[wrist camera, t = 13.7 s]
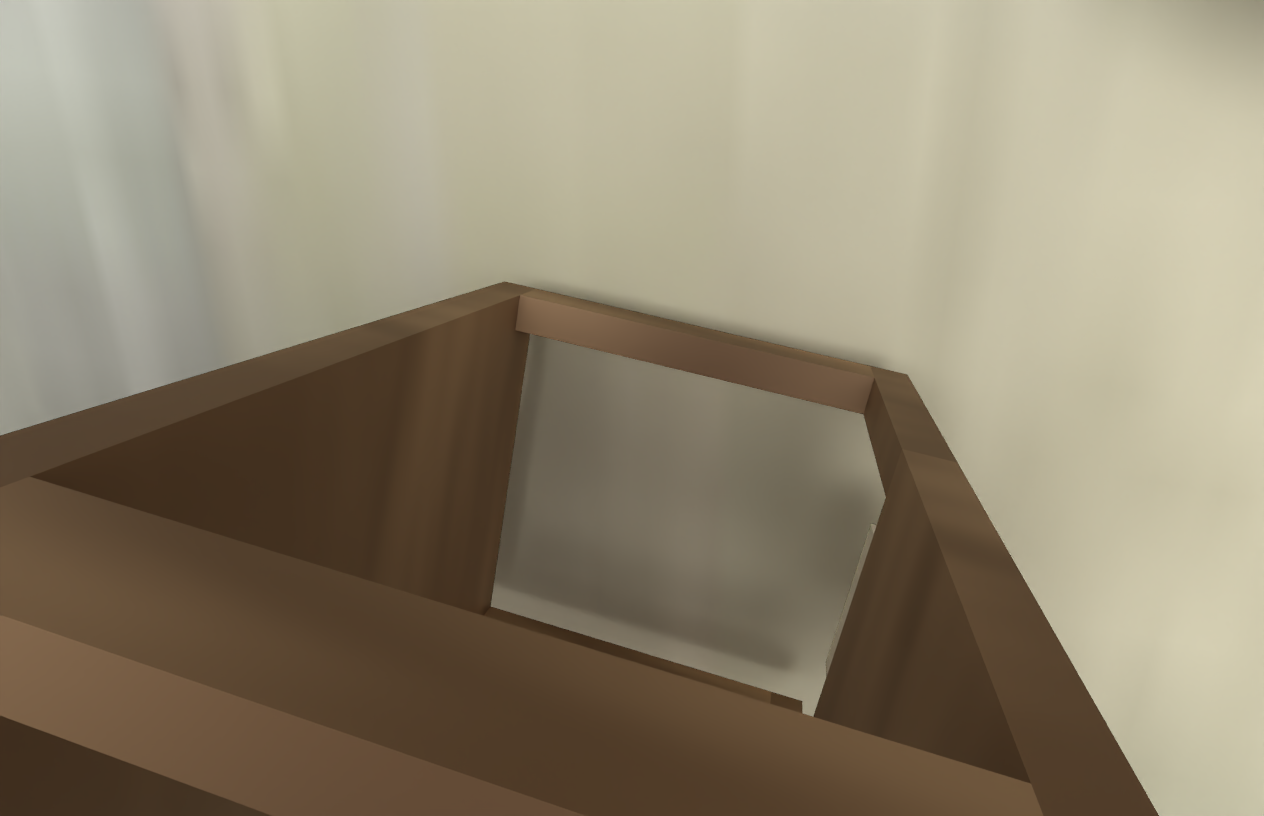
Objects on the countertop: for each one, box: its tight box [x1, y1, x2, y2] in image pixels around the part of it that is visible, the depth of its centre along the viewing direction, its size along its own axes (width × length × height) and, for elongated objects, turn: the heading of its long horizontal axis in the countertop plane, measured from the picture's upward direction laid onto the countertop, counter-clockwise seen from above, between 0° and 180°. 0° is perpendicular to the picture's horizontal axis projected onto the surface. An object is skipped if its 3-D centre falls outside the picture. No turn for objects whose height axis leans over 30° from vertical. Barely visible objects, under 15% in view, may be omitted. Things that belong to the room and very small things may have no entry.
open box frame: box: [0, 282, 1159, 816], centre depth 9 cm, size 7×7×10 cm
